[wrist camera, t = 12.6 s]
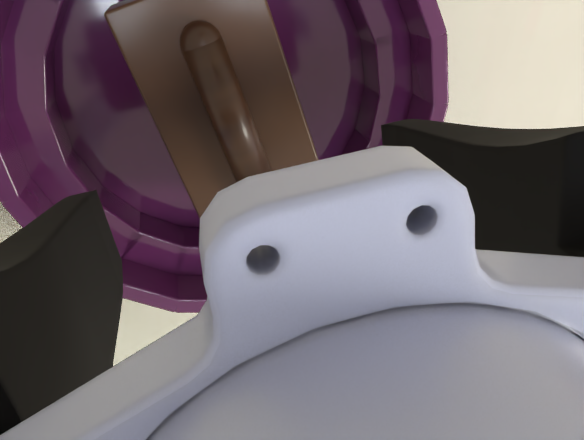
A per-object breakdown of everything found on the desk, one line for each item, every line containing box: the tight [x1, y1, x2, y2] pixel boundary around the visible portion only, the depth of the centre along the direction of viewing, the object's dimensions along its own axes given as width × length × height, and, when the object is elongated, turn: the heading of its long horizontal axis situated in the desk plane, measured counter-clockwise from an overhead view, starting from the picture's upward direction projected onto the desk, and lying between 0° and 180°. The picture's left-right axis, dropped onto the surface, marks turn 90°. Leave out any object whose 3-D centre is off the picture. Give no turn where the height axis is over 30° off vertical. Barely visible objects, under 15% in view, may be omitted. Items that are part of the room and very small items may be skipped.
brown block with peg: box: [104, 0, 319, 218], centre depth 18 cm, size 8×4×5 cm, turn 18°
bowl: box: [0, 0, 449, 313], centre depth 19 cm, size 15×15×4 cm
